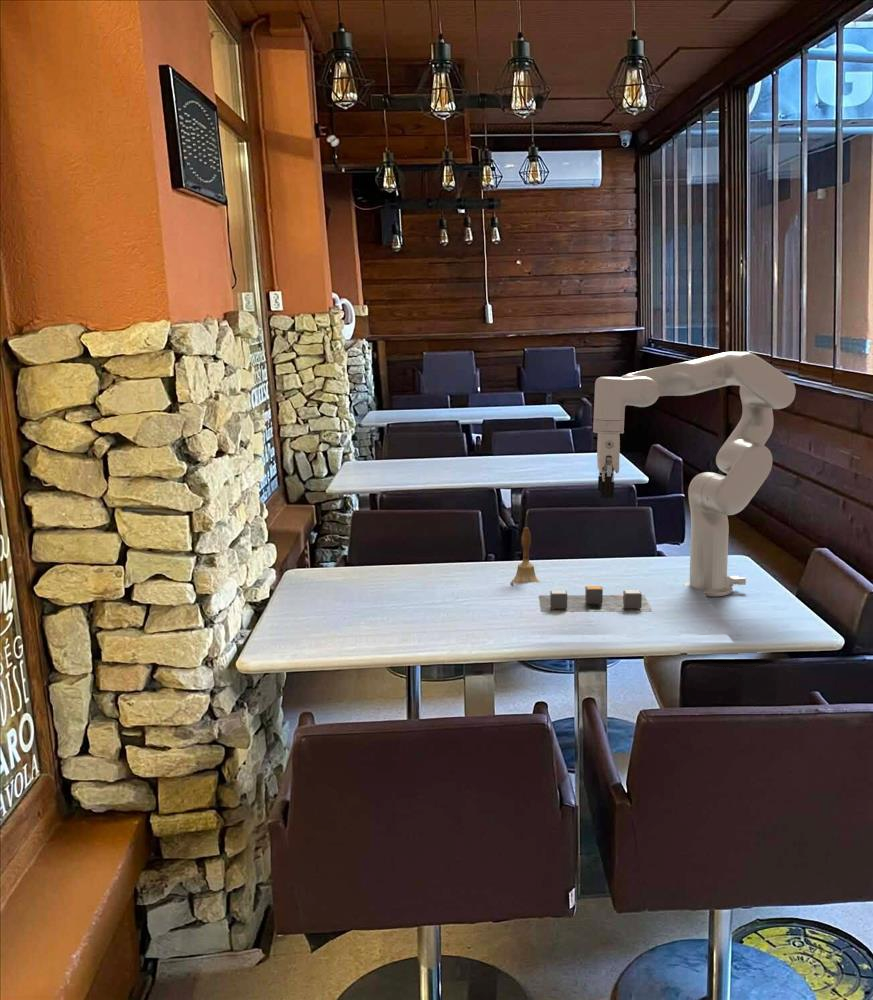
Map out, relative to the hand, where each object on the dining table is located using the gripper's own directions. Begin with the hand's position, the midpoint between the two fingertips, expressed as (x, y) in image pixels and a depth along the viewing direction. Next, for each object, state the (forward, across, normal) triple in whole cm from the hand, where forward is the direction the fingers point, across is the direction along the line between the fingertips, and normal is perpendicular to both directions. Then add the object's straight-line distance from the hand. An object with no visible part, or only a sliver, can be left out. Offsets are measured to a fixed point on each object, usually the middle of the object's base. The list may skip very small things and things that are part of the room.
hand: (605, 494), depth 237 cm
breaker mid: (+27, -6, +2) cm, 27 cm away
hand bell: (+29, +18, +19) cm, 39 cm away
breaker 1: (+27, -10, +11) cm, 31 cm away
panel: (+28, -6, +2) cm, 29 cm away
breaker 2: (+26, -9, -7) cm, 29 cm away
